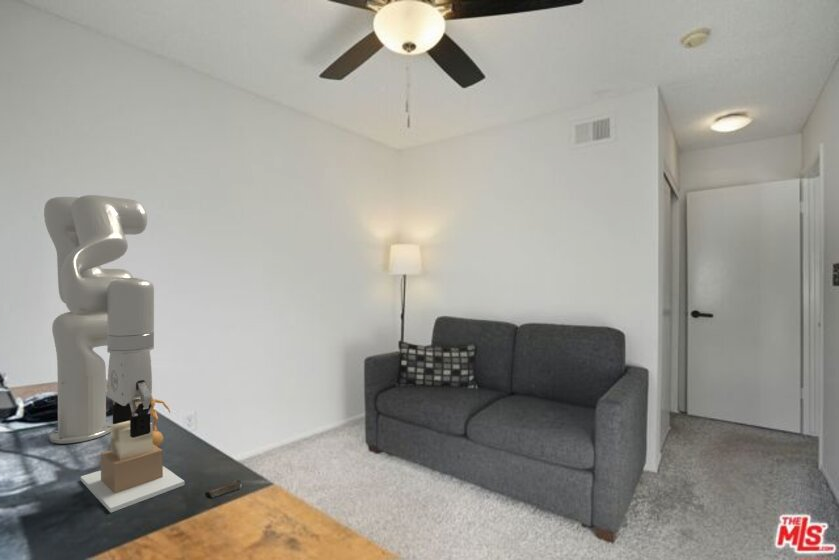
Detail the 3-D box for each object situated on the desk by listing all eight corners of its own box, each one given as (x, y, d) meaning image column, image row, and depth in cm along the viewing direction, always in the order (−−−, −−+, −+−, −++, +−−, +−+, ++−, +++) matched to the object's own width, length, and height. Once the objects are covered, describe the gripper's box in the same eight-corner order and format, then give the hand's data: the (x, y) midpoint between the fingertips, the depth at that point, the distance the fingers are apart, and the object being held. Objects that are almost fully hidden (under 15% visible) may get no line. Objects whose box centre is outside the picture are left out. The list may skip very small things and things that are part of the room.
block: (205, 499, 78) (204, 490, 78) (236, 485, 83) (235, 476, 83) (213, 504, 76) (212, 494, 76) (245, 489, 80) (244, 480, 80)
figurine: (135, 456, 94) (134, 403, 93) (127, 448, 98) (126, 397, 97) (175, 444, 100) (175, 395, 100) (166, 438, 104) (166, 390, 104)
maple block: (110, 452, 81) (110, 425, 81) (142, 443, 85) (142, 417, 85) (120, 460, 78) (120, 431, 78) (152, 450, 82) (152, 423, 82)
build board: (80, 480, 83) (80, 449, 82) (148, 459, 92) (148, 431, 92) (110, 512, 72) (110, 477, 71) (184, 485, 81) (184, 453, 81)
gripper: (94, 339, 84) (94, 423, 84) (124, 351, 73) (124, 447, 74) (136, 335, 90) (136, 413, 90) (170, 345, 79) (170, 434, 80)
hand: (131, 428), depth 82 cm, fingers open, 9 cm apart
